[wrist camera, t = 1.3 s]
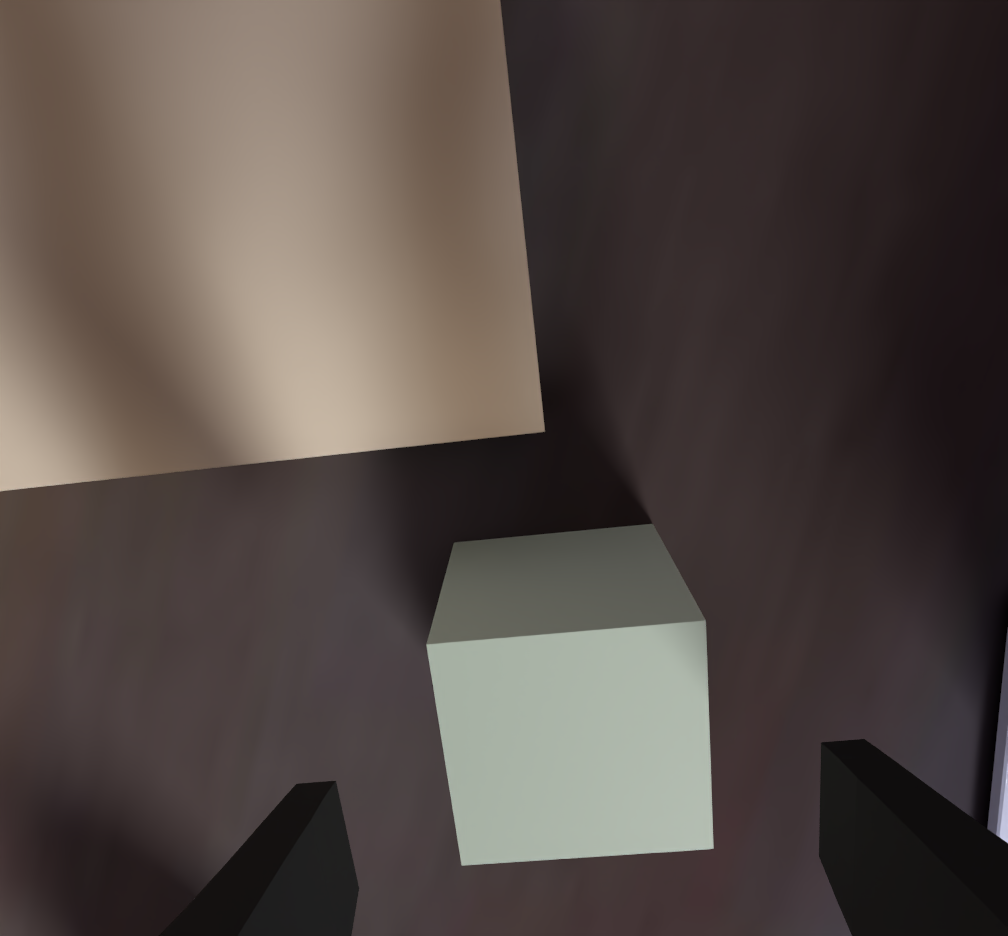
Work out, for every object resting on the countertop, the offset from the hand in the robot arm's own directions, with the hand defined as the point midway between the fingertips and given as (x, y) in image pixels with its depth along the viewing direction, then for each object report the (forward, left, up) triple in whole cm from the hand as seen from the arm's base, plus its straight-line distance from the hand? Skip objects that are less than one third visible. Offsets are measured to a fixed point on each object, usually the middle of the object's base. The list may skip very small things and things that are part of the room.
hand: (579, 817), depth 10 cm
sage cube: (0, 0, -6) cm, 6 cm away
